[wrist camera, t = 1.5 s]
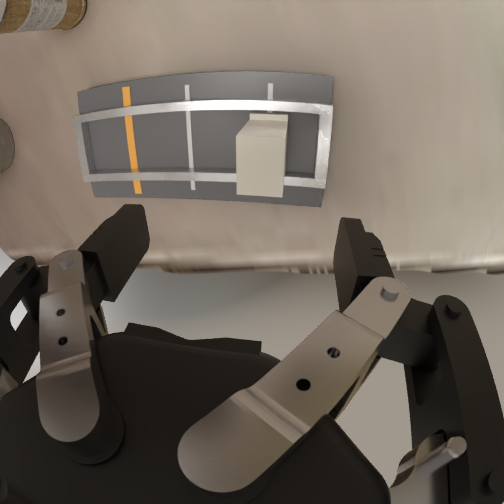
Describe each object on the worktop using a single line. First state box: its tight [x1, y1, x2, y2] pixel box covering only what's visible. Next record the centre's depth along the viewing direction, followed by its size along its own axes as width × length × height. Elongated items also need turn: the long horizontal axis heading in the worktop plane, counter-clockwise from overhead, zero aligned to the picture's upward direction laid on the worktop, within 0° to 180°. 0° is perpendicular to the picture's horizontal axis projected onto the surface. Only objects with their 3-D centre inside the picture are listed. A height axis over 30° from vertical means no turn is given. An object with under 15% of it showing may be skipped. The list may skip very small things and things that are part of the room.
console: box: [73, 71, 333, 207], centre depth 25 cm, size 24×12×3 cm, turn 90°
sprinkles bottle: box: [0, 0, 86, 34], centre depth 13 cm, size 5×5×13 cm
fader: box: [236, 112, 288, 198], centre depth 21 cm, size 3×5×7 cm, turn 179°
